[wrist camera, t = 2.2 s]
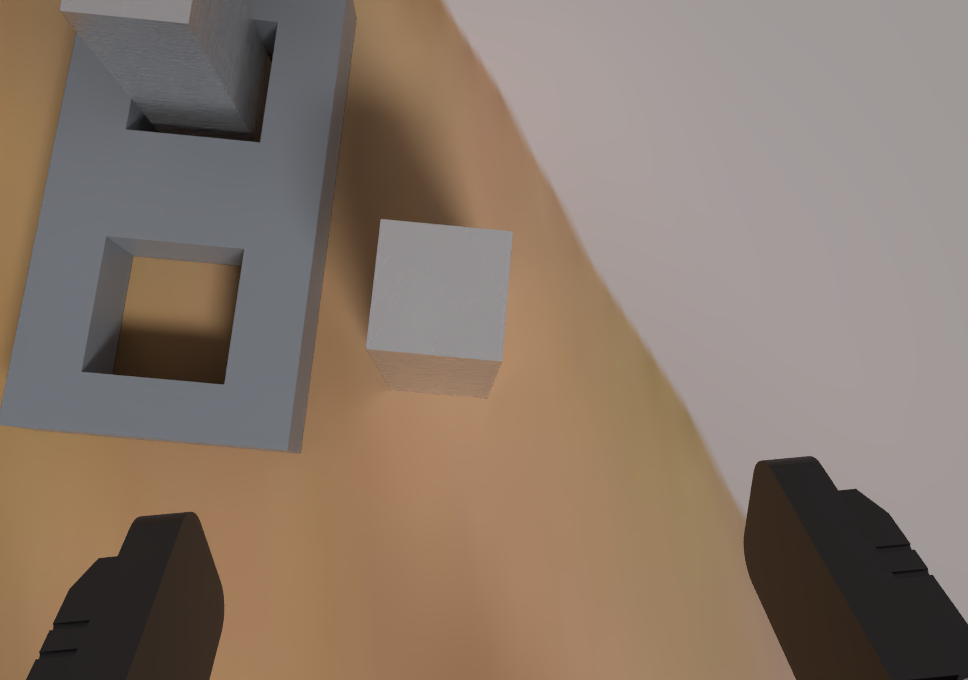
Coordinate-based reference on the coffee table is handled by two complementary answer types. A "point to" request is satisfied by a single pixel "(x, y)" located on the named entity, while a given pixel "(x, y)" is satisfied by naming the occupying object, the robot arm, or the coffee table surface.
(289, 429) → the grey square hole board
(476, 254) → the block
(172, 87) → the block
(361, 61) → the coffee table surface
